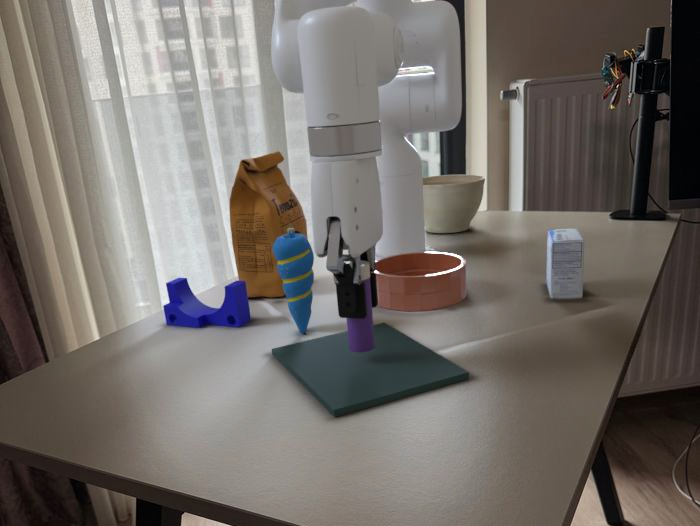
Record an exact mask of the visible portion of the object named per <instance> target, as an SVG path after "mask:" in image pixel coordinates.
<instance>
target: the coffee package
mask: <svg viewBox="0 0 700 526" xmlns="http://www.w3.org/2000/svg"><path fill="white" fill-rule="evenodd" d="M284 160H285V157H284V156H283V154H282V153H281V151H280V150H278V151H275V152H272V153H271V152H270V153H268V154H263V155H261V156H257V157H252V158H251V157H250V158H243V159H241V160H240V161H239V164H238V169H237V172H236V174H235V178H234V182H233V185H232V187H231V191H230V196H229V224H230V233H231V245H232V249H233V256H234V260H235V261H234V262H235V266H236V271H237V272H236V273H237V278H238V281H245V282H246V289H247V296H248V299H249V298H261V297H264V298H279V297H280V298H281V297H285V296H286V294H285V292H284V290H283V280H282V278H281V276H280V275H279V272H278V270H277V264H278V261H277V259H276V258H275V256H274V253H273V244H274V242H275V240H276V239H277V238H278V237H280V236H282V235H287V234H288V233H287V228H289V227H290V228H294V234H303V235H304V236H305V237H306V238H307V240H308V241H309V238H308V237H309V235H308V225H307V219H306V216H305V212H304V209H303V207H302V204H301V203H300V200H299V199H298V197H297V196H296V193H295V192H294V191H293V189H292V188H291V187H290V185H289V184H288V183H287V180H286V178H285V176H284V174H283V171H282V169H281V168H280V167H279V165H280V164H281V163H283V162H284ZM290 224H291V225H290Z"/></svg>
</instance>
